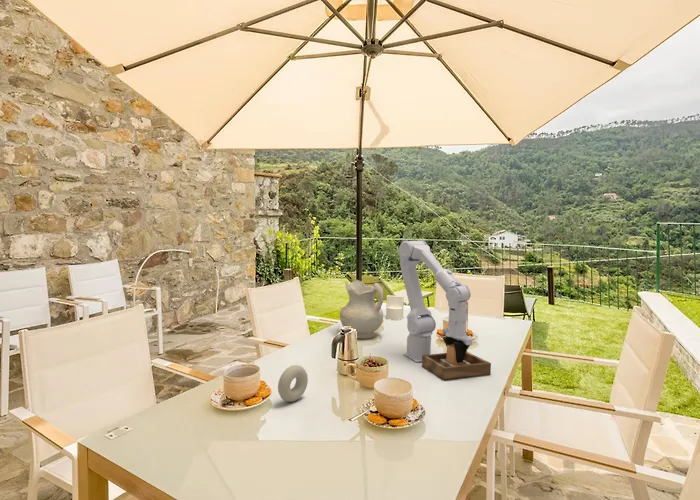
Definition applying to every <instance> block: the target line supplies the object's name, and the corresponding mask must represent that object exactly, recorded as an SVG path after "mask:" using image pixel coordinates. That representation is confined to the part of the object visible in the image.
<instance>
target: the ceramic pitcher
mask: <svg viewBox="0 0 700 500" xmlns="http://www.w3.org/2000/svg"><path fill="white" fill-rule="evenodd" d="M344 284H345V289H346V292H347V293H348V297H349V298H348V299H349V301H348V303H346V304H345V305H344V306H343V307H342V308H341V309H340V311H339V319H340V322H341V323H340V324H341V325H342V327H344V326H351V327H352V328H354V329H356V331H357V337H358V338H357V339H363V340H364V339H365V340H369V339H373V338H375V334H374V332H376V331H378V330H379V328H380V327H381V325H382V324H383V322H384V311H383V309H382V305H383V303H384V290H383V285H382V284H381V282H374V283H373V284H374V286H373V285H366V284H365V282H364V281H361V280H359V279H354V280H352V281H351V282H350V283H348V282H347V281H346V282H345V283H344ZM377 293H378V301H377V303H376V302H375V297H376V294H377Z"/></svg>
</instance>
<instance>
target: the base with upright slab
mask: <svg viewBox="0 0 700 500" xmlns="http://www.w3.org/2000/svg"><path fill="white" fill-rule="evenodd" d="M404 297H405V296H404V295H392V294H390V295H389V294H387V295H386V303H385V304H386V308H385V309H386V310H385V312H386V313H385V318H387V319H386V320H388V319H391V320H390V321H400V320H399V319H403V320H404V305H405V303H404V301H405V300H404V299H405V298H404Z"/></svg>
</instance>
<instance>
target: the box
mask: <svg viewBox="0 0 700 500" xmlns="http://www.w3.org/2000/svg"><path fill="white" fill-rule="evenodd" d="M446 357H447V352H443V353H442V352H441V353H434V354H430V355H422V362H421V367H422V368H423V369H425V370H427V371H428V372H429V373H431V374H433V375H434V376H436V377H437V378H439V379H441V380H442V381H444V382H446V381H447V382H448V381H454V380H455V381H456V380H461V379H462V380H463V379H469V378H477V377H478V378H479V377H485V376H491V374H492V371H491V370H492V362H489V361H487V360H485V359H483V358H482V357H480V356H478V355H475V354H472V353H471V352H469V351H468V350H467V351H466V353H465V356H464V360H463V364H460V365H452V364H450V363H449V362H447V361H446Z"/></svg>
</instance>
